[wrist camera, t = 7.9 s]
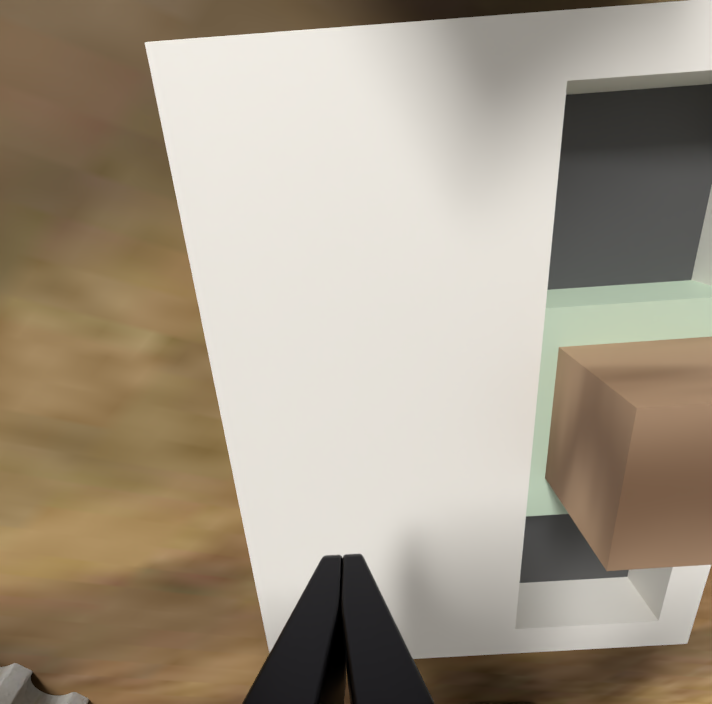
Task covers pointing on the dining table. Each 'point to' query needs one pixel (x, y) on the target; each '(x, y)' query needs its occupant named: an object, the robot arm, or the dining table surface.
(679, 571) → the tray
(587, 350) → the walnut block
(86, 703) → the egg carton
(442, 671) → the dining table surface
